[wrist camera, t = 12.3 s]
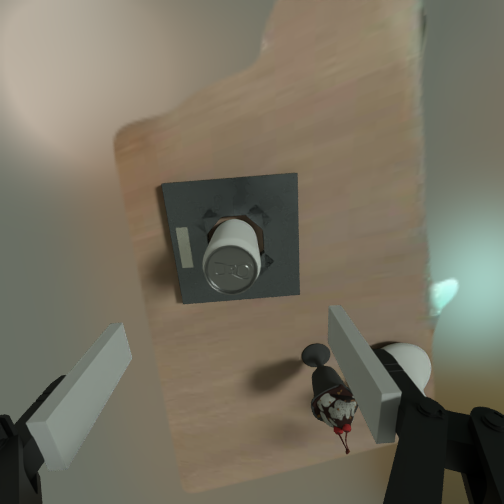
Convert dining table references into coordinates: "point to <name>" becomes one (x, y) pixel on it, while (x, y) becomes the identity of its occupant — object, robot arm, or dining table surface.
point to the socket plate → (233, 204)
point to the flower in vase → (412, 362)
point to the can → (232, 258)
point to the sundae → (329, 392)
